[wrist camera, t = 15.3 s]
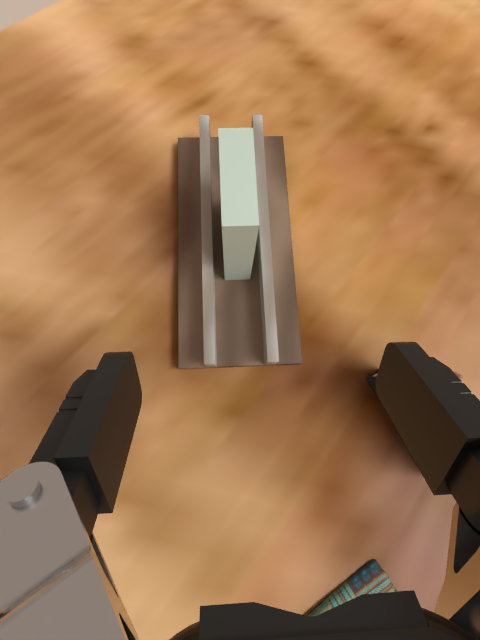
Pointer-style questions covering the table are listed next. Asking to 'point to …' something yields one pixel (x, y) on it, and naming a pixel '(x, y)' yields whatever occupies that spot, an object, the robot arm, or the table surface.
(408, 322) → the table surface
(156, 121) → the table surface
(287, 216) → the board
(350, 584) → the dish towel
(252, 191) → the door panel
